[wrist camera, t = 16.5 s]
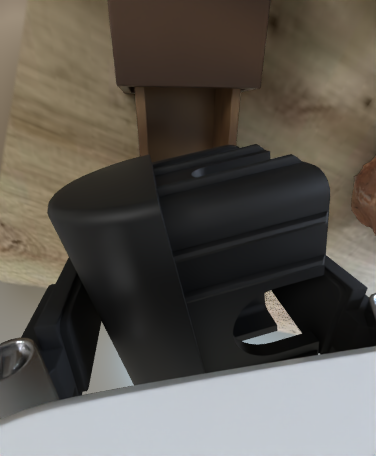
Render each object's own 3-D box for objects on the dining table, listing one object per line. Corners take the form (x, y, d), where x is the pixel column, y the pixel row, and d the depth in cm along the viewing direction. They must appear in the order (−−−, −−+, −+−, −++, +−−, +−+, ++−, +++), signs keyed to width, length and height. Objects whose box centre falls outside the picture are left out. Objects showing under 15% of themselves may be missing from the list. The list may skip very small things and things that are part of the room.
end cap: (78, 167, 10) (-9, 244, 4) (237, 130, 11) (356, 153, 5) (143, 327, 15) (144, 474, 9) (253, 297, 15) (325, 416, 9)
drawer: (217, 235, 35) (233, 262, 28) (142, 241, 33) (142, 270, 27) (226, 74, 26) (252, 63, 20) (127, 72, 25) (122, 59, 19)
